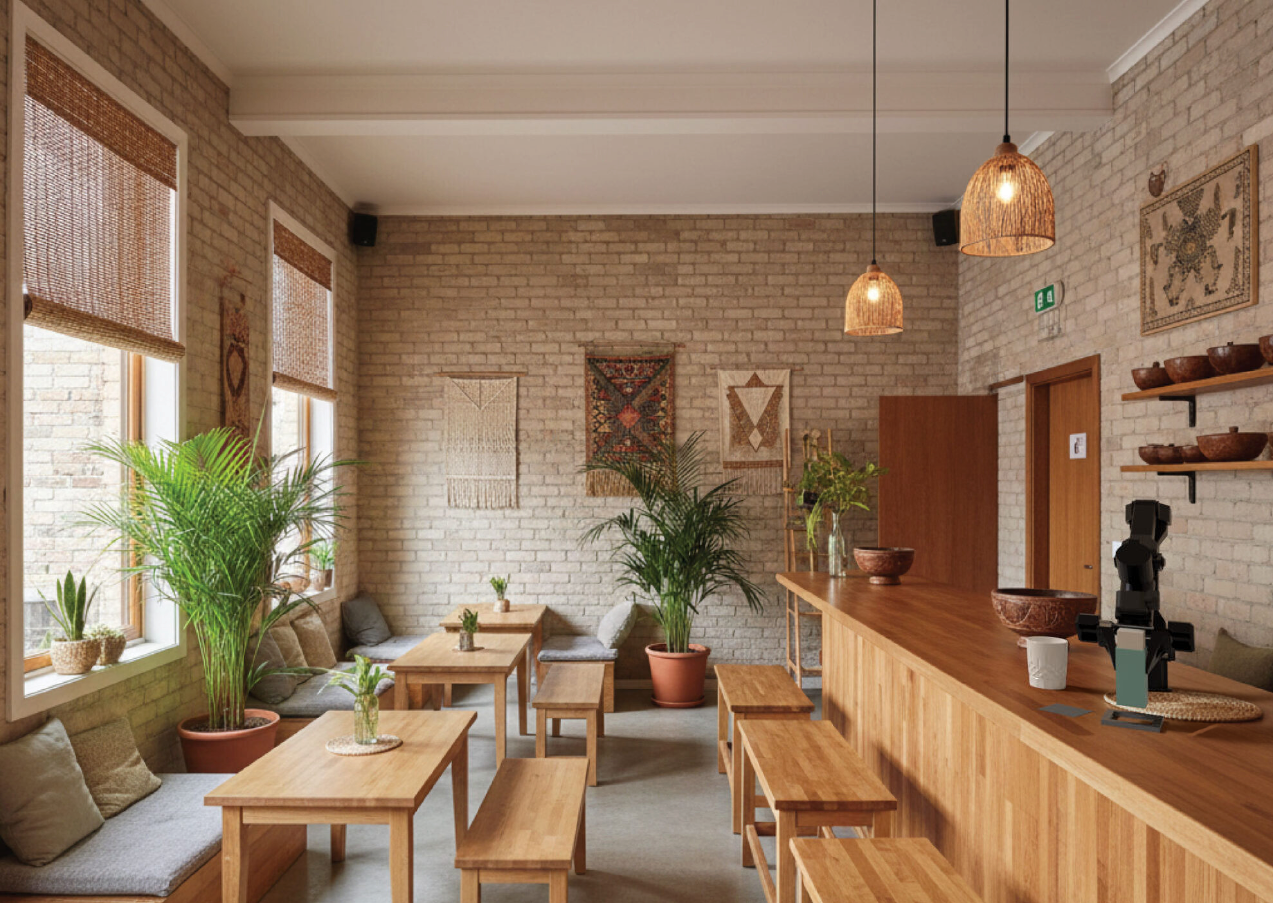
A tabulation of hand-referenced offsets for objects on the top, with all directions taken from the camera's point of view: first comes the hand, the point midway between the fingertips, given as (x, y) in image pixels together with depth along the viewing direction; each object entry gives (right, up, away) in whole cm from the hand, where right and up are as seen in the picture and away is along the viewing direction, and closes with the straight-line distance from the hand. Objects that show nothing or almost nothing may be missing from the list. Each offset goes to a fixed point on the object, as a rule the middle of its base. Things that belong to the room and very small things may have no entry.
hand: (1130, 671), depth 155 cm
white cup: (-1, -11, +28) cm, 30 cm away
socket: (+1, -10, +1) cm, 10 cm away
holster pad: (-7, -10, +9) cm, 15 cm away
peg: (+1, -6, +1) cm, 6 cm away
